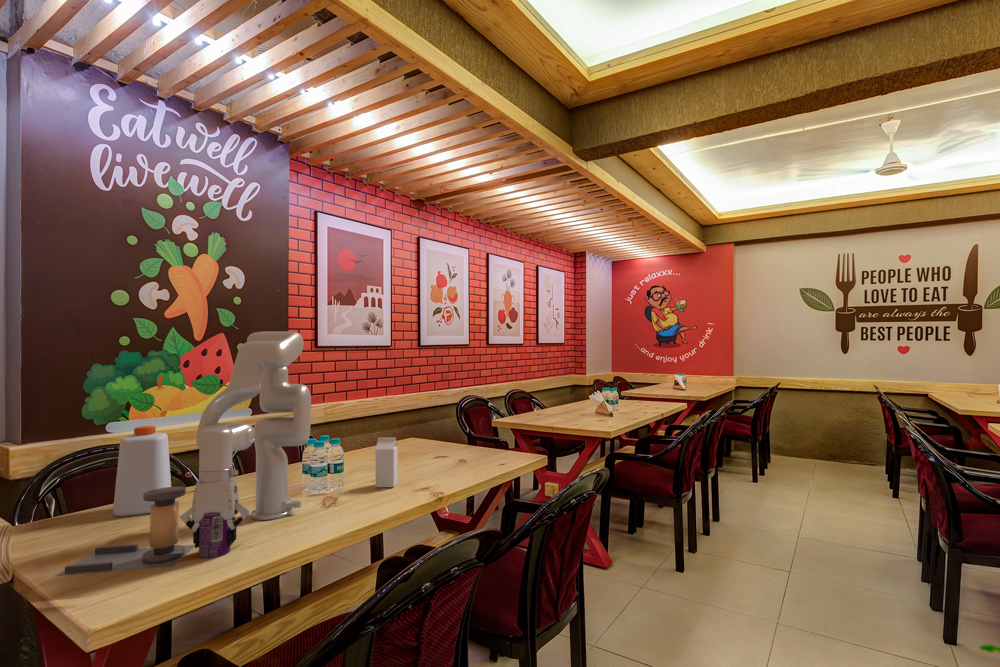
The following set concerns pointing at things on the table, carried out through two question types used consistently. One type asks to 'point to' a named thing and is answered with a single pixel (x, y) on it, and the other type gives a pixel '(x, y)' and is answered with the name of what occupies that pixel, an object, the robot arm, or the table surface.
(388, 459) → the milk carton
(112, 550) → the board
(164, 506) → the bobbin
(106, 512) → the table surface
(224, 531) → the beverage can
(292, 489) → the table surface
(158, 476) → the plastic bottle
